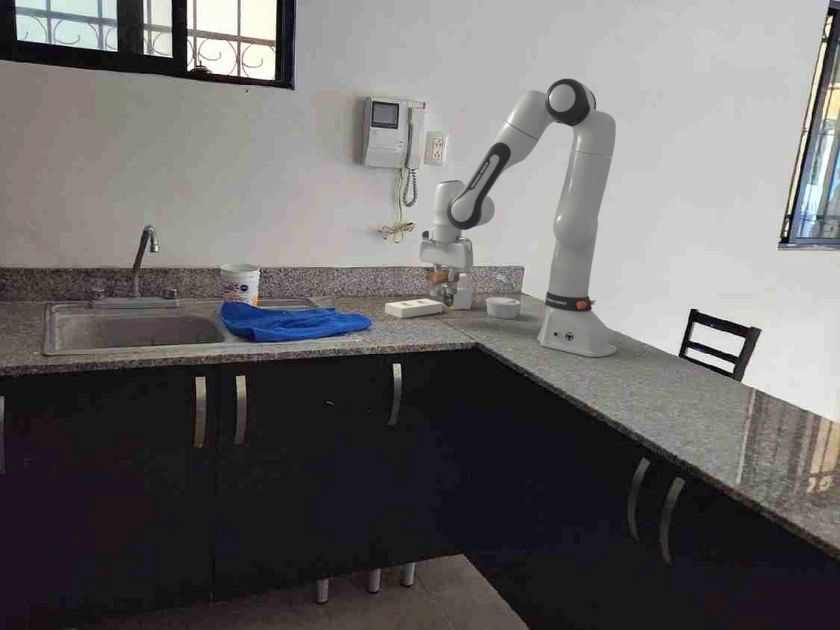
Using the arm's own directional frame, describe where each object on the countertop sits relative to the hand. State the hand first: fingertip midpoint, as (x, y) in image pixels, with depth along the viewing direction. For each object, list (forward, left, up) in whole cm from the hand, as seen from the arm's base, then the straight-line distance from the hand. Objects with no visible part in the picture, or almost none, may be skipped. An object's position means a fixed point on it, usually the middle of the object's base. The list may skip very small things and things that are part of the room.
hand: (444, 279), depth 204 cm
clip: (0, 0, -5) cm, 5 cm away
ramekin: (-5, -24, -13) cm, 28 cm away
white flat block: (+12, 0, -13) cm, 18 cm away
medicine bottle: (+11, -19, -13) cm, 26 cm away
